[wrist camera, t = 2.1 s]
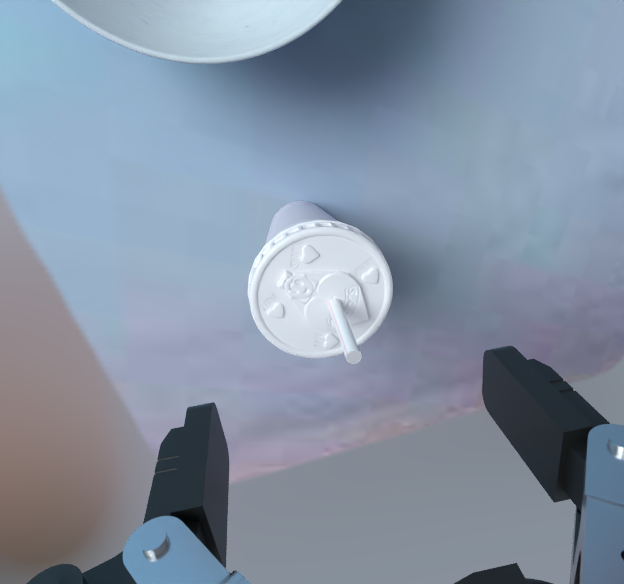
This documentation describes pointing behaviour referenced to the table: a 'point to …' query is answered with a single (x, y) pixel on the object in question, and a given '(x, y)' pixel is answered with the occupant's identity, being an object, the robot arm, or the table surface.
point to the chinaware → (200, 25)
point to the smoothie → (318, 285)
